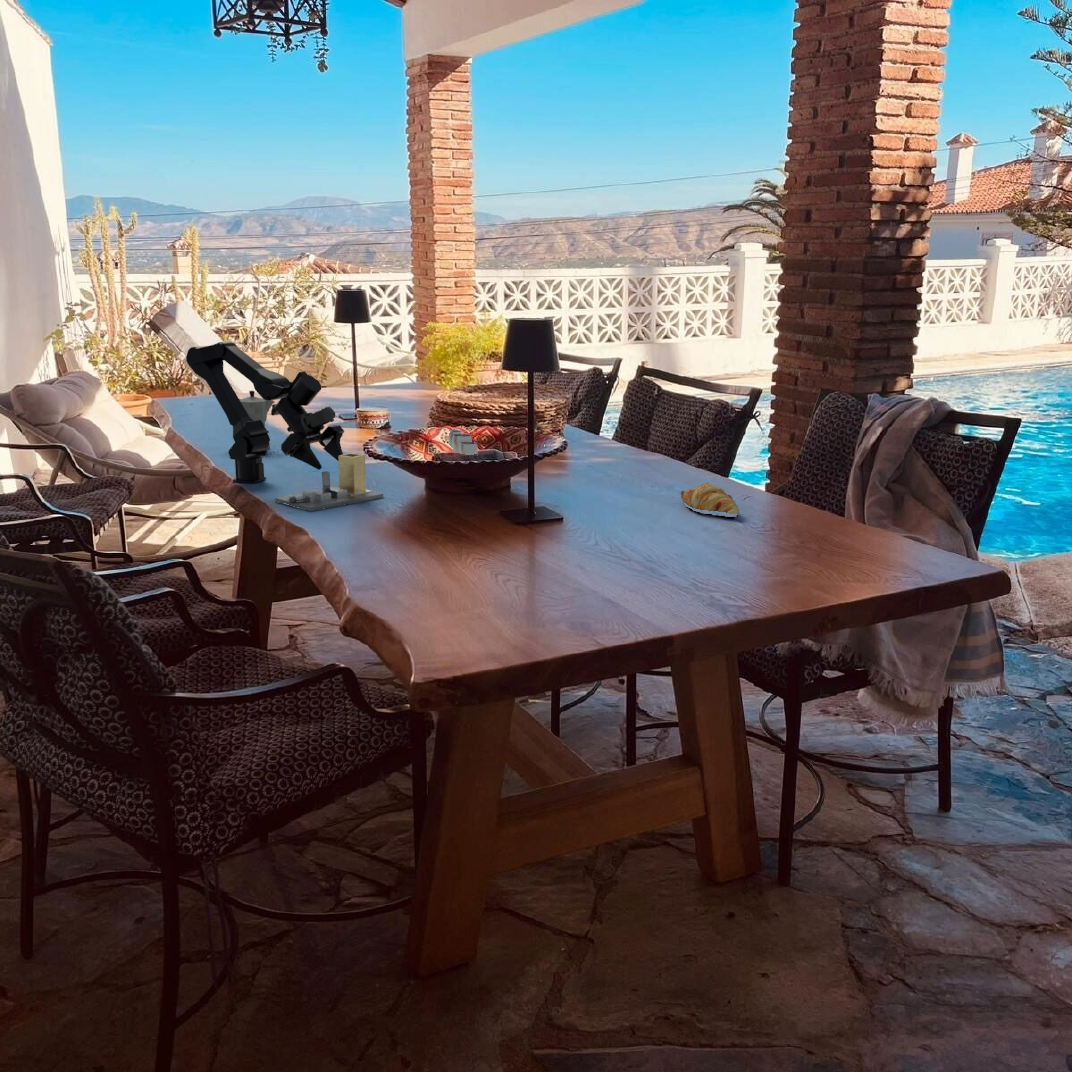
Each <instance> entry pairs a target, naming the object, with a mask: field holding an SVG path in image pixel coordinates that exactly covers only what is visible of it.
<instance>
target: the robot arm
mask: <svg viewBox="0 0 1072 1072" xmlns="http://www.w3.org/2000/svg"><path fill="white" fill-rule="evenodd" d="M186 352H187V354H186V356H185V357H186V358H185V360H186V363H187V365H188V367H190V369H191V370H192V371H193V373H194V374H195V375H197V376H198V377H199V378H201V379H202V380H204V381H205V382H206V384H207V385H208V387H209V388H210V390H211V392H212V394H213V395H214V397H215V398H216V401H217V402H218V403H219V406H220V407H221V409H222V410H223V412H224V414H225V416H226V415H227V416H226V418H227V417H228V418H227V420H228V419H229V420H228V422H229V421H230V422H231V424H232V425H231V426H232V438H233V441H234V442H233V444H232V446H231V447H230V448H229V450H228V451H227V453H228V455H229V458H230V460H234V467H235V478H233V479H232V482H236V483H248V484H256V483H259V482H262V481H264V480H267V477H265V465H264V462H263V457H266V456H267V453H268V450H269V449H268V446H269V444H270V441H271V438H270V436H269V434H270V432H269V430H267V427H266V426H265V427H264V424H263V422H262V421H261V420H255V421H254V420H253V419H251V418H250V417H249V415H248V413H247V412H246V410H245V408H244V407H243V405H242V403H241V402H240V400H239V399H240V398H239V397H238V395H237V393H236V392H235V390H234V388H233V387H232V384H231V383H230V381H229V380H228V378H227V376H226V375H225V373H224V361H225V362H226V363H227V364H228V365H229V366H231V367H232V368H233V369H235V370H236V371H237V372H238V373H240V374H241V375H242V376H243V377H245V378H246V379H248V381H249V382H251V383H252V384H253V388H254V390H255V392H256V393H257V394H258V395H259V396H260V397H261V398H262V399H264V400H267V401H270V400H273V401H276V400H278V402H277V403H273V404H272V406H271V411H270V415H271V416H277V415H278V416H279V415H280V417H281V418H282V419H283V420H284V422H285V423H286V425H287V428H286V431H287V433H290V434H289V435H288V436H287V437H286V438H285V439H284V441H283V442H282V443H281V445H280V448H281V449H280V451H282V453H283V454H284V456H289V457H290V458H294V459H296V460H299V461H301V462H303V463H304V464H307V465H309V466H311V467H313V468H314V469H316V470H318V471H319V470H321V469H322V468H323V466H322V464H321V462H320V461H319V460H318V459H319V458H317V456H316V454H315V453H314V451H313V450H312V448H311V444H314V443H319V445H321V446H322V447H323V450H324V451H325V452H326V453H328V454H329V455H330V457H332V458H334V459H335V460H336V461H337V462H339V457H338V456H339V455H344V453H343V450H342V449H343V448H342V445H341V439H342V437H343V434H344V433H345V430H344V428H343V427H342V426H341V425H339V424H334V425H329V426H327V427H325V425H326V424H328V423H333V422H334V421H335V418H336V412H335V410H334V409H333V408H332V407H331V406H325V407H324V408H321V410H318V411H316V412H308V411H306V409H305V408H304V406H305V407H306V406H309V405H310V404H311V403H312V401H313V400H314V399H315V398H316V397H317V395H318V394H319V393H320V392H321V390H322V384H321V383H320V381H319V380H318V379H317V378H315V377H314V376H312V375H310V374H308V373H307V371H305V370H304V371H298V373H297V374H296V376H295V378H294V379H293V381H290V380H289V379H288V378H287V377H286V376H284V375H282V374H280V373H279V372H277V371H276V372H275V371H273V370H269V369H267V368H265V367H263V365H261V364H260V363H259V362H257V361H256V360H254V358H252V357H251V356H250V355H249V354H247V353H246V352H244V351H243V350H242V349H240V348H239V347H238V346H237V344H236V343H235V342H234V341H220V342H219V341H218V342H217V343H214V344H211V345H201V346H199V345H198V346H191V347H189V349H188V350H187V351H186ZM324 428H325V429H324ZM321 431H322V432H321ZM291 432H292V433H291Z"/></svg>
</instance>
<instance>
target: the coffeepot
mask: <svg viewBox="0 0 1072 1072" xmlns="http://www.w3.org/2000/svg"><path fill="white" fill-rule="evenodd" d="M248 392H249V395H250V396H247V397H245V398H244V397H243V398H239V400H240V402H241V403H242V405H243V407H244V408H245V410H246V412H247V413H248V415H249V417H250V418H251V419H253V420H254V421H255V420H261V421H262V422H263V424H264V427H265V428H266V422H267V420H268V419H267V417H268V413H269V412H270V409H271V408H272V405H273V404H276V402H275V400H270V401H267V400H264V399H263V398H262V397H261V398H260V397H257V396H255V392H256V390H255V391H254V390H249V391H248ZM225 416H226V418H227V421H228V422H229V425H230V426H232V424H231V422H230V421H229V419H228V417H227V415H226V414H225ZM270 449H271V445H270V443H269V446H268V450H270Z"/></svg>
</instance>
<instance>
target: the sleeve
mask: <svg viewBox="0 0 1072 1072" xmlns="http://www.w3.org/2000/svg"><path fill="white" fill-rule="evenodd" d="M338 457H339V461H338V480H339V481H338V483H339V485H338V487H339V488H341V489H345V490H347V493H353V494H355V493H359V492H362V491H366V490H367V488H366V487H367V486H366V485H367V484H366V483H367V481H366V477H367V476H366V455H365V454H362V453H352V452H349V453H343V455H339V456H338Z"/></svg>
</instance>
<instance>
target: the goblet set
mask: <svg viewBox="0 0 1072 1072" xmlns="http://www.w3.org/2000/svg"><path fill="white" fill-rule="evenodd" d="M445 430H446V429H445ZM449 431H450V433H449V445H450V446H451V447H452V448H453V451H454V453H460V454H465V455H474V454H477V455H478V454H479V453H478V451H479V450H478V449H479V448H478V443H477V442H476V441H472V440H473V439H472V434H469V433H463V432H462V430H459V429H456V428H454V429H453V430H449Z"/></svg>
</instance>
